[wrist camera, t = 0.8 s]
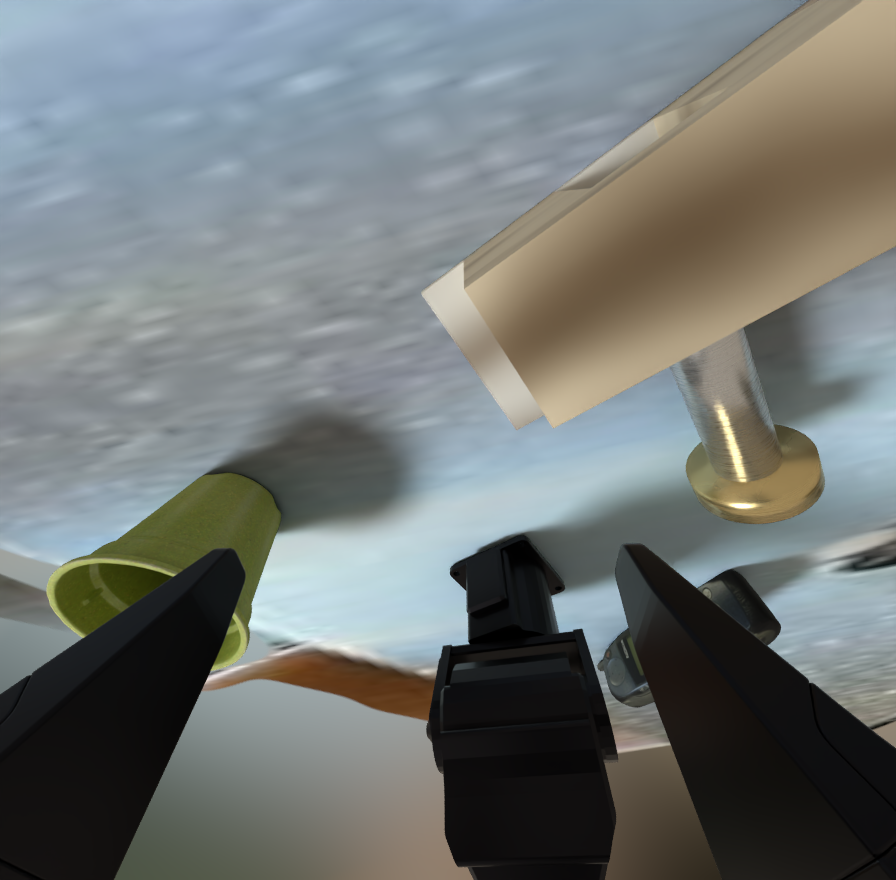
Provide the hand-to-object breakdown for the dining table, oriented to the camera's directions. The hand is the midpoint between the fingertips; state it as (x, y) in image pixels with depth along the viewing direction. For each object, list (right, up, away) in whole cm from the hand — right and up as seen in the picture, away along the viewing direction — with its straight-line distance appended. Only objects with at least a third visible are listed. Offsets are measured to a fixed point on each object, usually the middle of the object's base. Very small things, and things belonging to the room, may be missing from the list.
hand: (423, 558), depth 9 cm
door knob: (+12, +7, +10) cm, 17 cm away
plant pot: (-14, -2, +18) cm, 23 cm away
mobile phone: (+18, -12, +23) cm, 32 cm away
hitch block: (+9, +11, +9) cm, 17 cm away
